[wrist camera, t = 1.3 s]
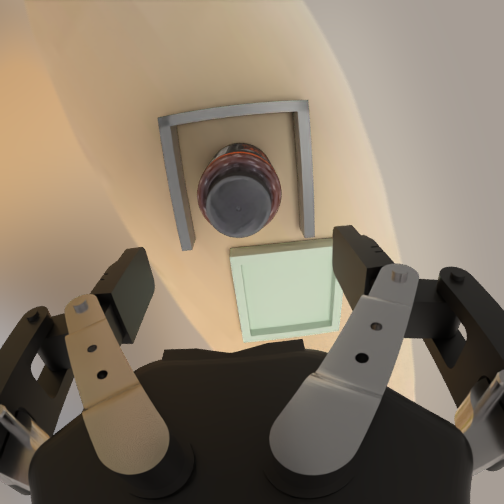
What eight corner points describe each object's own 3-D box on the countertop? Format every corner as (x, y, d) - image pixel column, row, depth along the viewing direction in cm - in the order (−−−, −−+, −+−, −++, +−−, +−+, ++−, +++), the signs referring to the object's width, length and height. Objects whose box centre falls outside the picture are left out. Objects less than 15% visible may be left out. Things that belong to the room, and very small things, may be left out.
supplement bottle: (283, 165, 27) (309, 198, 17) (248, 212, 29) (251, 269, 19) (232, 129, 25) (225, 140, 15) (197, 180, 28) (172, 222, 17)
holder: (164, 117, 24) (157, 117, 22) (302, 101, 24) (308, 100, 22) (186, 240, 30) (182, 250, 28) (309, 227, 30) (314, 236, 28)
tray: (230, 248, 31) (229, 257, 29) (340, 236, 31) (346, 244, 29) (243, 331, 36) (243, 342, 35) (334, 320, 36) (338, 330, 34)
